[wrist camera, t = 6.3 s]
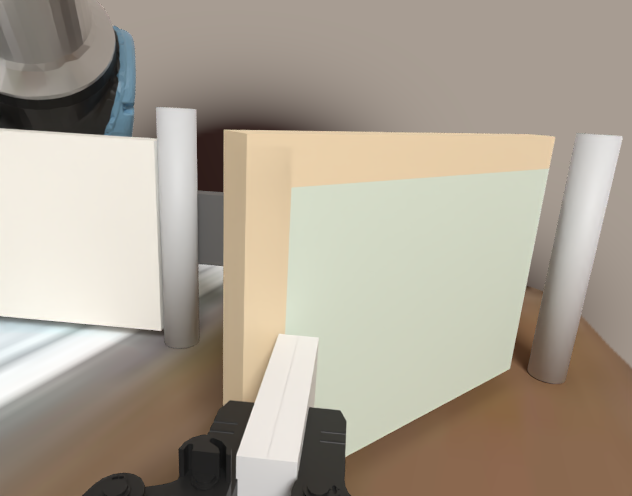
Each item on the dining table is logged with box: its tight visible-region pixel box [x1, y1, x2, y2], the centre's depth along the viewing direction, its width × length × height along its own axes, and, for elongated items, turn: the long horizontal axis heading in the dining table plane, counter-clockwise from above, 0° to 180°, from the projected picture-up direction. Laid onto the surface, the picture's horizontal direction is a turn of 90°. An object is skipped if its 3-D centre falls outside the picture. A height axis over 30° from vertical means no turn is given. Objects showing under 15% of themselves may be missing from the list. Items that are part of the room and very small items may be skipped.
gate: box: [223, 130, 555, 457], centre depth 24 cm, size 20×2×15 cm, turn 128°
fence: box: [0, 107, 623, 384], centre depth 32 cm, size 3×43×16 cm, turn 85°
